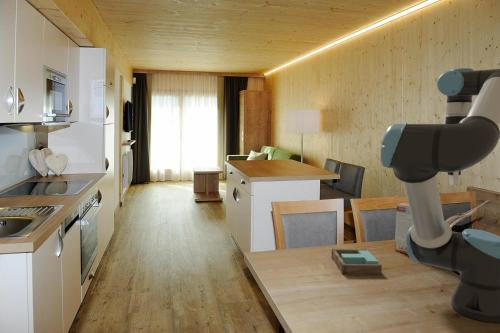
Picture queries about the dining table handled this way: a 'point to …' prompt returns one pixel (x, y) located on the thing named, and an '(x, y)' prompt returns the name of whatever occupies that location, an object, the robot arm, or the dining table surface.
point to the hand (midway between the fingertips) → (453, 184)
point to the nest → (354, 268)
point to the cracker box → (402, 226)
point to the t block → (359, 258)
